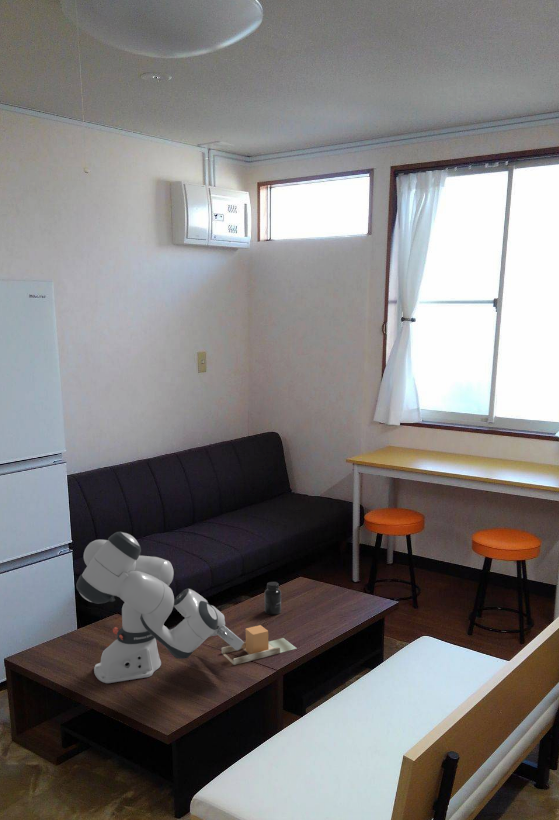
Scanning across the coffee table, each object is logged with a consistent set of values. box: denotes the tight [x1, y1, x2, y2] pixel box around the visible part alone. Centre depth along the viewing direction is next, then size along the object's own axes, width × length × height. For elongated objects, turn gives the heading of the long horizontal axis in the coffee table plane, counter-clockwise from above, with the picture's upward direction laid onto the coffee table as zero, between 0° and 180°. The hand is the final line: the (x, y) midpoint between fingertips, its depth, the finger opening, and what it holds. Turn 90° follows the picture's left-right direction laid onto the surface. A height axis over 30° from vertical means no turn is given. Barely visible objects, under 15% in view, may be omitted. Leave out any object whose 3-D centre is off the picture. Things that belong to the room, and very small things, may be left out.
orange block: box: [245, 624, 269, 654], centre depth 249 cm, size 6×6×8 cm
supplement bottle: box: [264, 581, 282, 616], centre depth 288 cm, size 7×7×12 cm
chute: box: [221, 637, 298, 666], centre depth 250 cm, size 25×10×4 cm, turn 119°
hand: (238, 644), depth 245 cm, fingers closed
